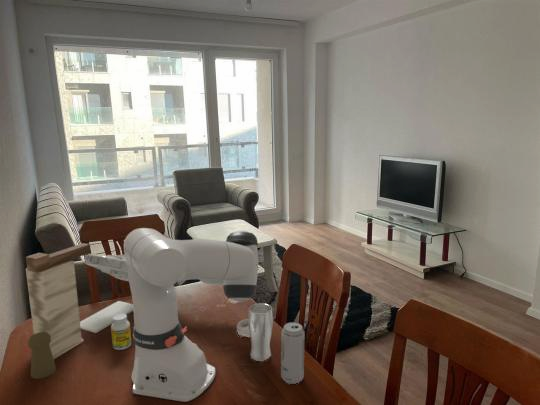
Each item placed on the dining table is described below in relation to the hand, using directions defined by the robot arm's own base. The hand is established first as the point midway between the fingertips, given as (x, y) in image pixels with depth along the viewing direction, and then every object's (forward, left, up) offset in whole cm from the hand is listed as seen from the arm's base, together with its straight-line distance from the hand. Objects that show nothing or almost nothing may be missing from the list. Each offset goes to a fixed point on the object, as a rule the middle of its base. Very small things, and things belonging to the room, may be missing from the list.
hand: (96, 259), depth 127 cm
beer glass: (-58, -3, -23) cm, 63 cm away
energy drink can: (-70, +3, -23) cm, 74 cm away
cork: (-7, +27, -23) cm, 36 cm away
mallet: (0, +13, +4) cm, 13 cm away
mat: (+1, -3, -22) cm, 23 cm away
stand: (0, +17, -22) cm, 28 cm away
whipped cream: (-49, -13, -23) cm, 56 cm away
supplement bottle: (-17, +9, -23) cm, 30 cm away
